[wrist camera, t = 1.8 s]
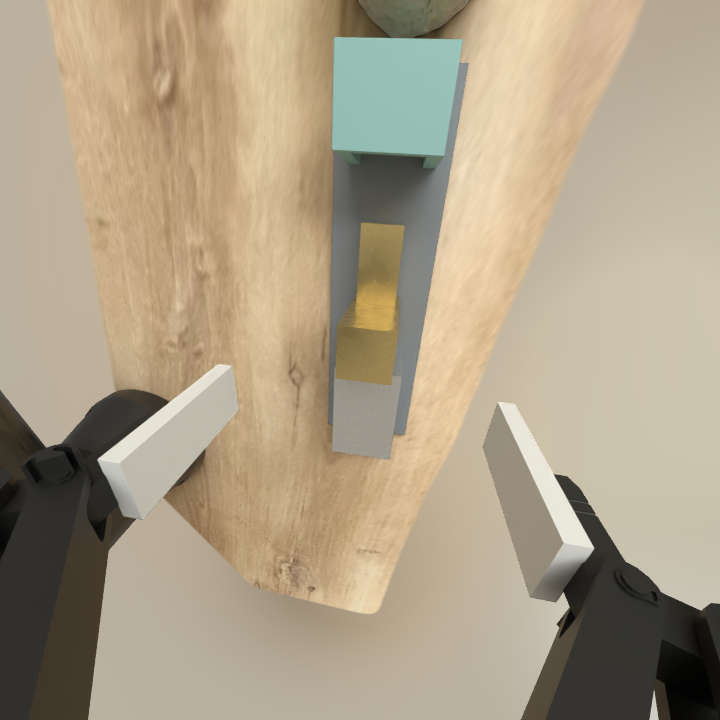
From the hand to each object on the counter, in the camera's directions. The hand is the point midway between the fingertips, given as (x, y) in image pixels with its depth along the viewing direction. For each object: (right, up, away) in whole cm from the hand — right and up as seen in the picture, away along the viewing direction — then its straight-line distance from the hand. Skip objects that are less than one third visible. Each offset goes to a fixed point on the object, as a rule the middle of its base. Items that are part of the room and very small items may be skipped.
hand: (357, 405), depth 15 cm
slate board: (+2, +9, +13) cm, 16 cm away
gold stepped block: (+2, +5, +14) cm, 15 cm away
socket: (+3, +20, +8) cm, 21 cm away
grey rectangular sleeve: (+1, 0, +18) cm, 18 cm away
